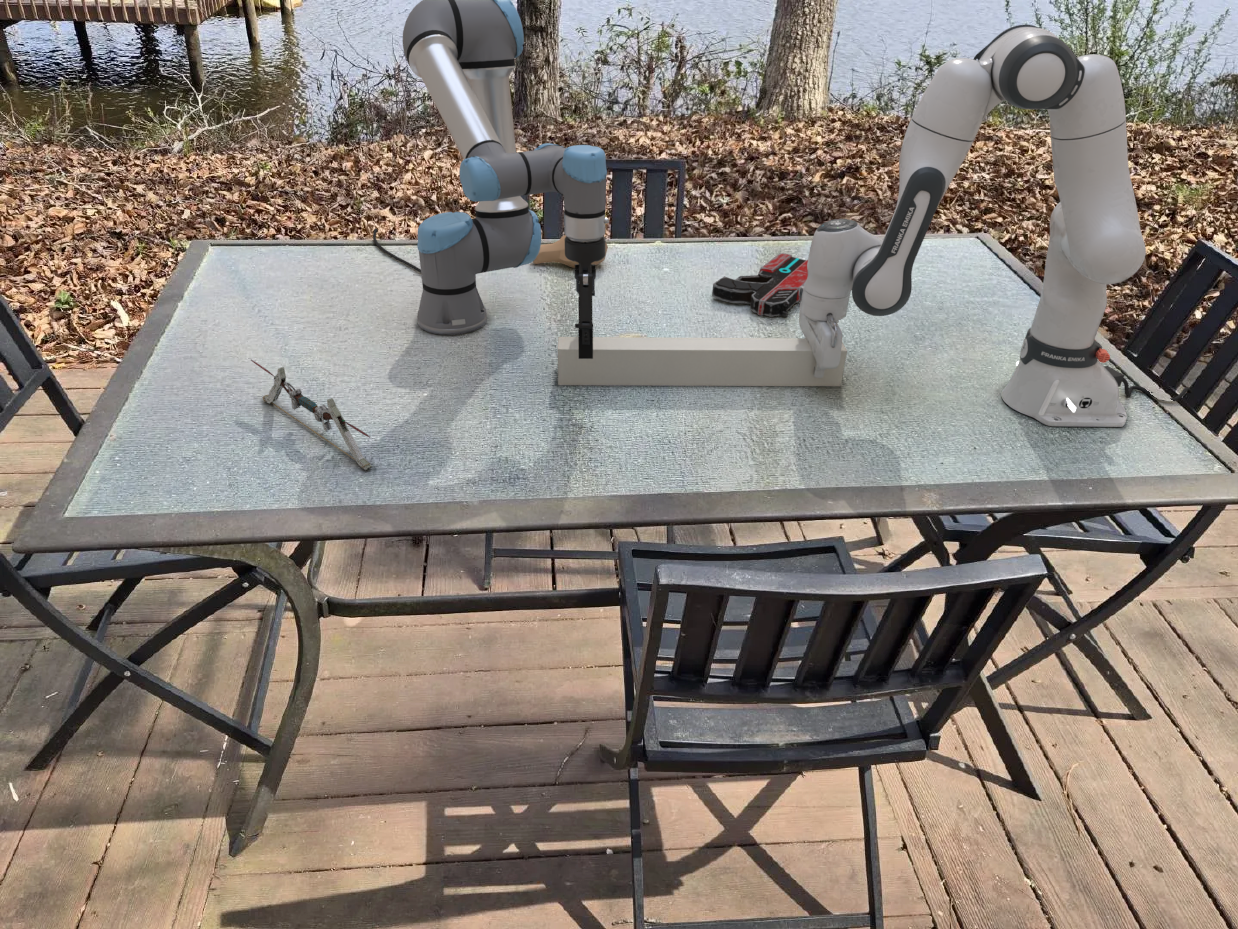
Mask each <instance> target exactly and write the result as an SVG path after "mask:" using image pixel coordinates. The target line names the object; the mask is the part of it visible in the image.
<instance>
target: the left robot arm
mask: <svg viewBox="0 0 1238 929" xmlns="http://www.w3.org/2000/svg"><path fill="white" fill-rule="evenodd" d="M524 35H525V34H524V29H523V23H522V20H521V17H520V15H519V11H518V10H517V8H516V6H515V5H514V3H513V2H512V0H421V1H419V2H418V3H417V4H415V6H414V7H413V8H412V9H411V11H410V12H409V14H408V16H407V18H406V20H405V23H404V26H403V31H402V49H403V53H404V57H405V59H406V61H407V64H408V65H409V68H410V70H411V71H412V72H413V74H414V75H415V76H416V77H418V78H420V79H421V80H422V81H423V83H424V85H425V87H426V89H427V91H428V93H429V95H430V97H431V99H432V101H433V103H434V105H435V107H436V109H437V110H438V113H439V116H440V117H441V118H442V121H443V123H444V124H445V127H446V128H447V130H448V132H449V134H450V136H451V138H452V140H453V142H454V144H455V147H456V148H457V150H458V152H459V154H460V156H461V158H462V161H461V162H460V165H459V170H458V171H459V172H458V173H459V182H460V184H461V188H462V191H463V194H464V195H465V197H466V198H467V199H468V200H469V201H471V202H478V203H477V205H475V207H474V212H475V217H474V218H473V217H471V216H470V214H468V213H466V212H463V211H454V212H452V211H446V212H440V213H438V214H434V215H432V216H429V217H427V218H426V219H424V220H423V221H422V222H421V223H420V224H419V226H418V227H417V247H416V248H417V250H418V258H419V264H420V266H419V267H420V268H419V267H417V266H416V265H414V264H412V263H411V262H409V261H407V260H404V259H403V258H401V257H399V256H397V255H395V254H393V253H392V252H390V251H389V250H387V249H385V248H384V247H383V246H382V245H381V244H380V243H379V241H378V240H377V233H379V230H378V228H377V227H375V228H374V229H373V233H372V240H373V243H374V245H375V246H376V247H377V248H379V249H380V250H381V251H382V252H383V253H384V254H386V255H387V256H389V257H391V258H392V259H394V260H395V261H398V262H399V263H402V264H404V265H406V266H408V267H409V268H410V269H413V270H415V271H416V272H418V273H420V275H421V276H420V277H421V284H422V292H421V297H420V302H419V305H418V310H417V316H416V318H417V325H418V326H419V328H420V329H421V330H423V331H424V332H427V333H430V334H433V335H440V336H459V335H465V334H469V333H473V332H476V331H477V330H480V329H481V328H483V327H484V326H485V325H486V323H487V320H488V316H487V310H486V306H485V304H484V302H483V299H482V298H481V295H480V293H479V291H478V288H477V278H476V277H477V276H476V275H478V274H483V273H487V272H494V271H499V270H505V269H511V268H513V269H517V268H519V267H521V266H526V265H530V264H532V263H534V262H533V261H534V260H535V259H536V257H537V255H538V253H539V251H540V246H541V245H542V228H541V224H540V223H539V217H538V215H537V214H536V212H535V211H533V210H530V209H529V202H527V201H526V200H525V199H523V196H532V195H537V194H539V195H540V194H545V193H553V192H555V193H557V194H560V195H561V196H563V234H564V235H566V237H565V256H566V258H567V259H569V260H571V261H575V262H578V263H579V264H575V268H574V279H575V291H576V293H577V294H578V300H577V302H578V323H574V329H577V330H578V331H577V332H578V335H577V337H578V341H579V359H593V337H594V323H593V297H596V289H595V288H596V287H595V284H596V277H597V268H596V266H597V265H596V264H592V263H593V262H595V261H596V262H597V261H600V260H602V259H603V258H604V257H605V248H606V243H607V241H606V237H605V235H606V224H609V223H610V219H609V217H606V209H607V176H608V170H607V162H606V160H607V159H606V158H607V156H606V152H605V150H604V149H603V148H601V147H599V146H597V145H596V146H595V145H590V144H576V145H575V144H574V145H570V146H568V147H564V146H563V145H559V144H556V143H550V142H548V143H547V142H546V143H542V144H540V145H538V146H537V147H536V148H534V149H533V150H526V151H517V147H516V137H515V127H514V126H515V125H514V116H513V106H512V105H513V104H512V96H511V86H510V85H511V84H510V75H512V72H514V70H515V68H516V61H515V60H516V59H517V58H518V57H519V56H521V54H522V53H523V50H524V44H525V37H524ZM605 258H606V257H605Z"/></svg>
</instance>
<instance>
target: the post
mask: <svg viewBox="0 0 1238 929" xmlns="http://www.w3.org/2000/svg"><path fill="white" fill-rule="evenodd" d="M847 356H848V349H847V347H846V346H845V344H844V343H843V341H842V349H841V356H840V363H839V366H838V367H837V368H836V369H825V371H824V376H823V377H822V378H816V377H815V376H814V374H813V371H814V367H815V366H816V363H817V362H816V359H815V357H814V355H813V353H812V349H811V347H810V345H809V343H808V341H807V339H806V338H805V337H803V338H802V337H801V338H799V337H794V338H793V337H664V336H663V337H659V336H658V337H647V336H645V337H644V336H643V337H641V336H640V337H639V336H638V337H637V336H636V337H635V336H633V337H632V336H593V359H579V341H578V336H558V337H557V383H558V384H557V385H558V386H619V387H620V386H622V387H623V386H624V387H625V386H627V387H628V386H632V387H633V386H635V387H636V386H639V387H640V386H641V387H642V386H645V387H648V386H649V387H650V386H651V387H652V386H654V387H656V386H657V387H659V386H660V387H666V386H667V387H668V386H669V387H674V386H675V387H692V386H693V387H842V383H843V377H844V372H845V366H846V361H847Z"/></svg>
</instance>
